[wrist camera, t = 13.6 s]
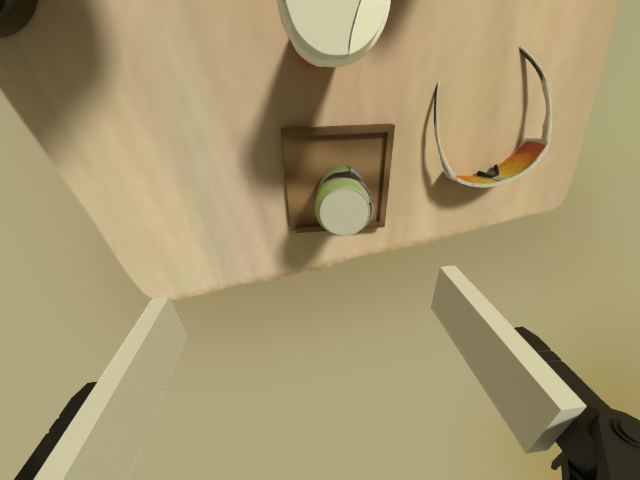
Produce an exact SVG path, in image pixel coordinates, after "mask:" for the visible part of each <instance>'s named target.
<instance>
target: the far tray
mask: <svg viewBox="0 0 640 480" xmlns="http://www.w3.org/2000/svg"><path fill="white" fill-rule="evenodd" d="M394 130H395V125H393V124H371V125H347V126H324V127H300V128H281V135H282V146H283V156H284V166H285V177H286V187H287V197H288V208H289V218H290V228H291V231H296V233H303V232H318V231H327V230H326V229H324V228H323V227H322V226H321V225H320V223H319V222H318V220H317V217H316V214H315V201H316V196H317V192H318V187H319V183H320V180H321V177H322V176H323V174H324V173H325V172H326V171H327V170H328V169H330V168H332V167H334V166H338V165H346V166H350V167H352V168H354V169H355V170H356V171H358V173H359V174H360V175H361V177H362V179H363V181H364V182H365V184H366V186H367V188H368V189H369V191H370V193H371V195H372V198H373V202H374V211H373V215H372V218H371V220H370V221H369V223H368V224H367V225H366V226H365V228H377V227H385V217H386V207H387V198H388V188H389V178H390V168H391V159H392V149H393V139H394Z"/></svg>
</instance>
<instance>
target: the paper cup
mask: <svg viewBox="0 0 640 480" xmlns="http://www.w3.org/2000/svg"><path fill="white" fill-rule="evenodd" d="M277 3H278V10H279V14H280V18H281V22H282V24H283V27H284V29H285V32H286V34H287V35H288V37H289V39H290V41H291V43H292V44H293V46H294V48H295V50H296V52H297V53H298V54H299V56H300V57H301V58H302V59H303V60H304V61H305V62H306V63H308V64H309V65H311V66H314V67H342V66H346V65H349V64H351V63H353V62H355V61H357V60H359V59H360V58H361V57H363V56H364V55H365V54H366V53H367V52H368V51H369V50H370V49H371V48H372V47H373V46H374V44H375V43H376V41H377V40H378V38H379V37H380V35H381V33H382V31H383V29H384V26H385V23H386V21H387V17H388V13H389V10H390V3H391V0H277Z"/></svg>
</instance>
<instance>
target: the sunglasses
mask: <svg viewBox="0 0 640 480" xmlns="http://www.w3.org/2000/svg"><path fill="white" fill-rule="evenodd" d="M519 48H520V51H521V53H522V54H523V55H524V56H525V57H526V58H527V59H528V60H529V61H530V62H531V64H532V65H533V67H534V68H535V69H536V71H537V73H538V75H539V77H540V80H541V84H542V90H543V93H544V97H545V101H546V116H545V121H544V124H543V131H542V133H543V134H542V139H537V138H526V139H525V140H524V141H523V142H522V143H521V144H520V145H519V147H518V148H517V149H516V150H515V151H514V152H513V153H512V154H511V156H510V157H509V158H508V159H506V160H505V161H504V162H502V163H500V164H499V165H497V164H496V165H495V166H494V167H493V169H494V171H495V174H494V175H492V176H491V175H489V174H487V173H484V172H481V171H478V172H477V174H473V175H472V176H460V175H457V174H454V173H453V171H452V169H451V168H450V166H449V164H448V162H447V160H446V158H445V155H444V153H443V150H442V147H441V143H440V138H439V131H438V96H439V86H440V80H438V83H437V86H436V91H435V101H434V128H435V137H436V141H437V145H438V150H439V154H440V159H441V163H442V166H443V168H444V172H443V173H444V175H445V176H446V177H447V178H449V179H451V180H454V181H456V182H459V183H461V184H464V185H467V186H471V187H480V188H487V187H496V186H500V185H504V184H507V183H510V182H512V181H514V180H516V179H518V178H520V177H522V176H523V175H525V174H526V173H528V172H529V171H530V170H531V169H533V168H534V167H535V166H536V165H537V164H538V163H539V162H540V160H541V158H542V157H543V156H544V154H545V153H546V152H547V150H548V149H549V143H550V139H551V130H552V107H551V97H550V91H549V86H548V81H547V77H546V75H545V73H544V71H543V69H542V68H541V66H540V65H539V63H538V62H537V61H536V60H535V58H534V57H533V56H532V55H531V54H530V53H529V52H528V51H527V50H526V49H525V48H524V47H522V46H521V45H520V46H519Z"/></svg>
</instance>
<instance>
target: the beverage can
mask: <svg viewBox="0 0 640 480" xmlns="http://www.w3.org/2000/svg"><path fill="white" fill-rule="evenodd" d="M373 211H374V202H373V198H372V195H371V193H370V191H369V189H368V188H367V186H366V184H365V182H364V181H363V179H362V177H361V175H360V174H359V173H358V171H356V170H355V169H354V168H352V167H350V166H346V165H338V166H334V167H332V168H330V169H328V170H327V171H326V172H325V173H324V174H323V176H322V177H321V180H320V183H319V187H318V192H317V196H316V201H315V214H316V217H317V220H318V222H319V223H320V225H321V226H322V227H323V228H324V229H326V230H327V231H328V232H330V233H332V234H335V235H340V236H348V235H352V234H355V233H357V232H359V231H361V230H362V229H363V228H365V226H366V225H367V224H368V223H369V221H370V220H371V218H372V215H373Z"/></svg>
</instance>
